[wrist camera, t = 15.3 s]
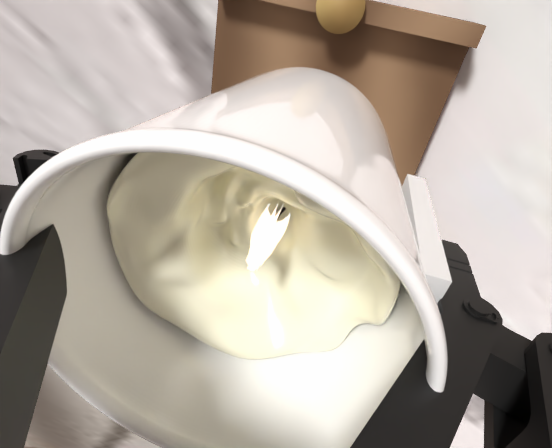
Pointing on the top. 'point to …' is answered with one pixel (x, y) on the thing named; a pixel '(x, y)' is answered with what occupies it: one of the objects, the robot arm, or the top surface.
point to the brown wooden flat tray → (353, 56)
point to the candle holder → (237, 267)
